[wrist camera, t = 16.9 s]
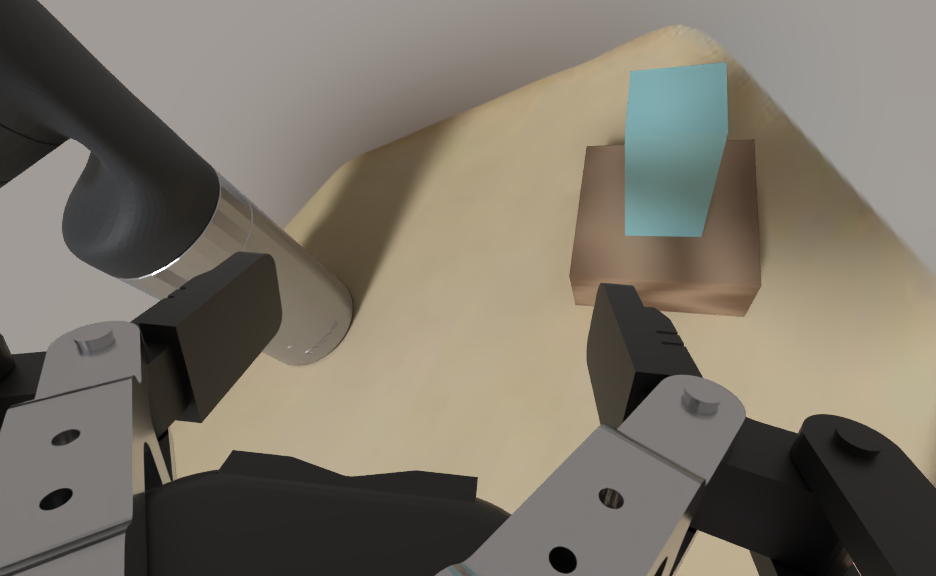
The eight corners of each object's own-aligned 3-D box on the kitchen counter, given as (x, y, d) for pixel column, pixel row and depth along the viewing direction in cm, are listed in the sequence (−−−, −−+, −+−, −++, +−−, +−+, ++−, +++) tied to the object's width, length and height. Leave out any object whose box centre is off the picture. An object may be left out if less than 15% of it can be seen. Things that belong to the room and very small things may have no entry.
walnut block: (575, 304, 38) (569, 276, 34) (590, 184, 43) (586, 146, 39) (744, 316, 34) (761, 285, 30) (740, 182, 39) (754, 139, 35)
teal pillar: (624, 235, 34) (624, 136, 26) (629, 179, 36) (630, 71, 28) (701, 237, 33) (728, 131, 24) (701, 178, 35) (726, 62, 26)
